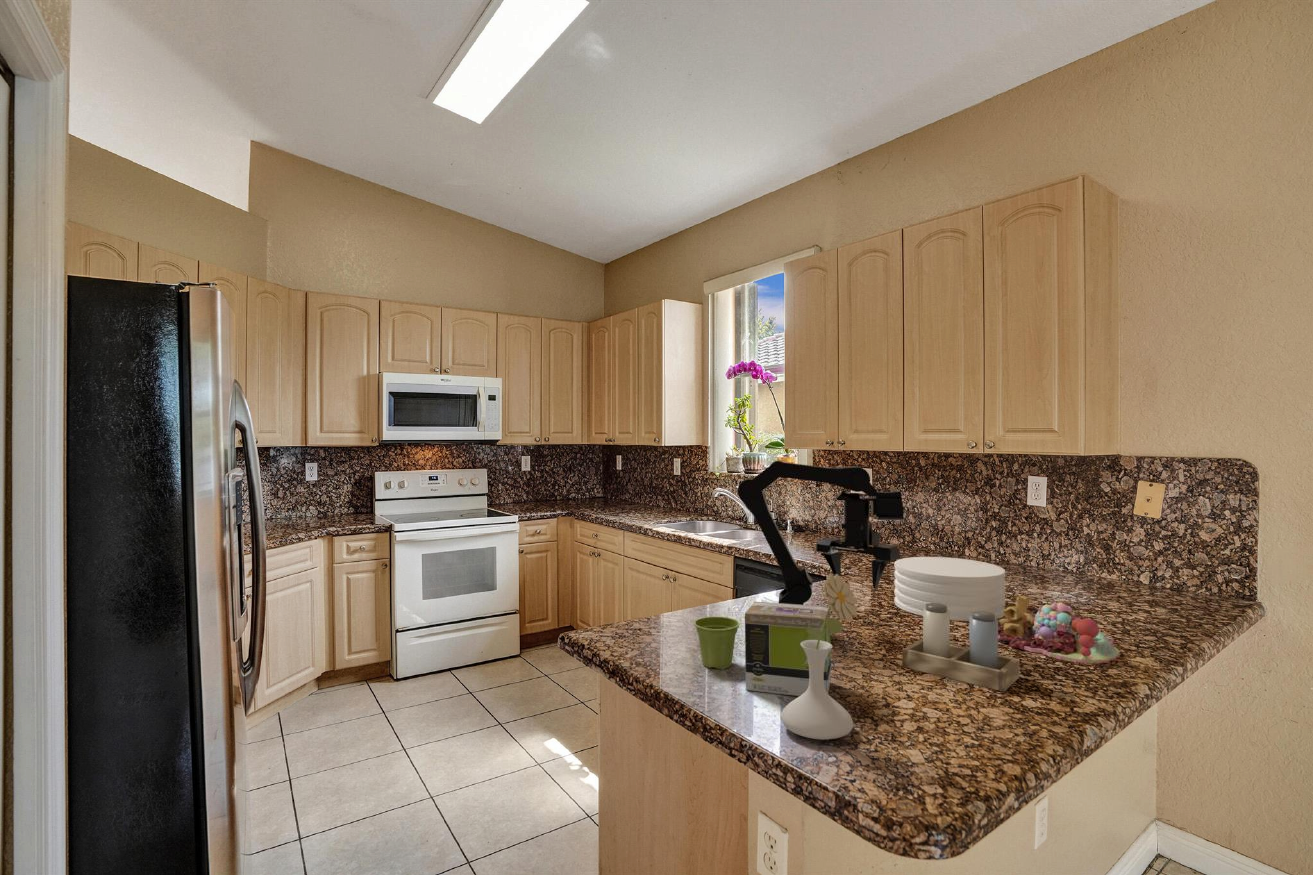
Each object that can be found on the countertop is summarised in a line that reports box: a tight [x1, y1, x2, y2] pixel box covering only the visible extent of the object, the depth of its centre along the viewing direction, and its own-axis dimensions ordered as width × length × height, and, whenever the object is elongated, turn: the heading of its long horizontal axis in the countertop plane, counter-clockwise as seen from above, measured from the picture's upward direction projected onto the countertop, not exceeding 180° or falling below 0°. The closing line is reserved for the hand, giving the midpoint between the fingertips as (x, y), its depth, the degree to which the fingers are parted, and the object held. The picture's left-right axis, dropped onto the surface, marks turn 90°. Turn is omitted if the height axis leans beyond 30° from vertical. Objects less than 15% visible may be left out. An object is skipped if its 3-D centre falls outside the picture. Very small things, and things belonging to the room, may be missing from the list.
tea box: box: [744, 601, 832, 697], centre depth 122 cm, size 15×10×15 cm
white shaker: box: [922, 603, 951, 659], centre depth 132 cm, size 5×5×12 cm
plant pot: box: [693, 616, 740, 670], centre depth 134 cm, size 9×9×9 cm
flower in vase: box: [779, 572, 858, 740], centre depth 104 cm, size 13×11×25 cm
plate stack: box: [893, 556, 1006, 622], centre depth 179 cm, size 28×28×12 cm
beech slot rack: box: [902, 638, 1020, 693], centre depth 129 cm, size 19×10×4 cm, turn 46°
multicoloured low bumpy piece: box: [997, 595, 1121, 664], centre depth 147 cm, size 25×24×9 cm
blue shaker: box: [968, 611, 999, 670], centre depth 126 cm, size 5×5×12 cm
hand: (856, 585), depth 153 cm, fingers open, 9 cm apart
